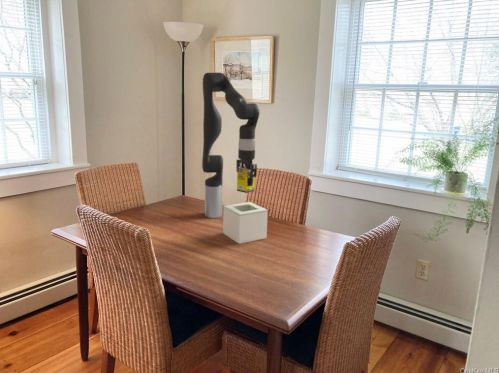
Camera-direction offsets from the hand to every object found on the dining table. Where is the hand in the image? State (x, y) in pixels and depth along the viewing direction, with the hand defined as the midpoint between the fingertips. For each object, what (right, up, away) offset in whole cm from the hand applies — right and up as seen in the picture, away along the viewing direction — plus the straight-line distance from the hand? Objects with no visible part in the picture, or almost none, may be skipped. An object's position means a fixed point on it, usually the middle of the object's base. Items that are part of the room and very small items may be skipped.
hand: (245, 183), depth 190 cm
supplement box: (0, -4, +1) cm, 4 cm away
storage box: (-1, -25, +6) cm, 25 cm away
